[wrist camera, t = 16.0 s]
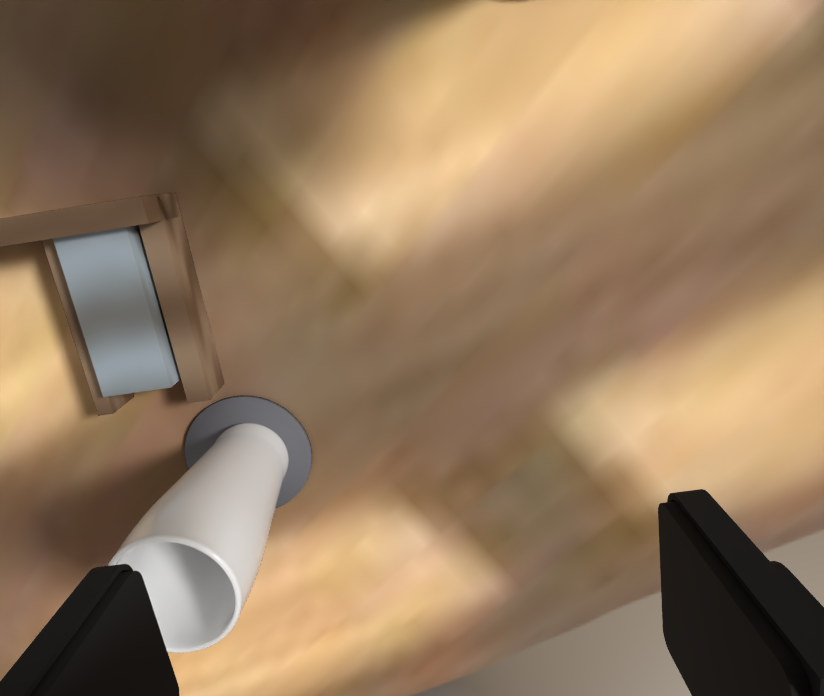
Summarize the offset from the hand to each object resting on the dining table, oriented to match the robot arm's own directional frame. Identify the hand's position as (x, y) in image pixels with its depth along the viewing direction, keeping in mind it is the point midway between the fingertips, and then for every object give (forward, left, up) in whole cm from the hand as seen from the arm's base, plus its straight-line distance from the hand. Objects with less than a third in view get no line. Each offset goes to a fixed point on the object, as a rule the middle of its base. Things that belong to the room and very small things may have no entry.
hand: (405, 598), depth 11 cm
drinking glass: (+10, -13, -30) cm, 34 cm away
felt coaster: (+10, -13, -30) cm, 35 cm away
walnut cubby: (-1, -23, -30) cm, 38 cm away
